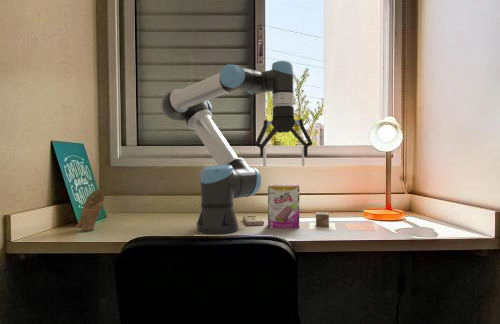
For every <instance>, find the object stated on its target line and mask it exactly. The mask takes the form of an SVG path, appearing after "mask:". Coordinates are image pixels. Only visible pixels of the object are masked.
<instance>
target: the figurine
mask: <svg viewBox="0 0 500 324" xmlns="http://www.w3.org/2000/svg"><path fill="white" fill-rule="evenodd" d="M104 201H105V192H104V190H103V189H102V188H97V189H95V190H94V191H92V192H91V193H90V194H89V196H87V198H86V200H85V201H84V204H83V208H82V210H81V215H80V218H79V220H78V223H77V224H76V226H75V228H76V229H81V230H83V231H94V230H93V229H95V225H96V221H97V219H98V217H99V215H100V213H101V210H102V207H103V205H104Z"/></svg>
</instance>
